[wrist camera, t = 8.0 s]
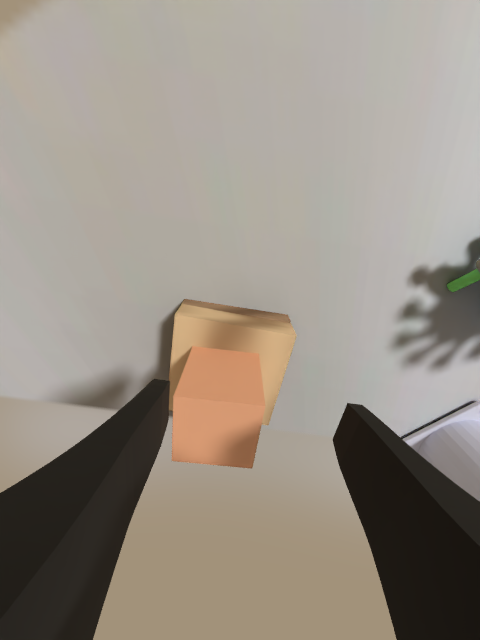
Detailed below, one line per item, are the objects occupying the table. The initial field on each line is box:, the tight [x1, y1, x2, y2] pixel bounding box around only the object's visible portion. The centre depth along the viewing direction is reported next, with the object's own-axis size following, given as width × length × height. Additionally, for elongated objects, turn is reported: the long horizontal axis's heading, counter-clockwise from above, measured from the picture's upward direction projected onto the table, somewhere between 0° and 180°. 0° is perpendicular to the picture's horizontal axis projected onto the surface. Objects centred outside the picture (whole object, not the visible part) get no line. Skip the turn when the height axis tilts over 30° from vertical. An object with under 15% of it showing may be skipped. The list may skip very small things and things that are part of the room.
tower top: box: [169, 304, 296, 425], centre depth 18 cm, size 8×8×2 cm
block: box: [172, 346, 265, 468], centre depth 15 cm, size 4×4×5 cm
